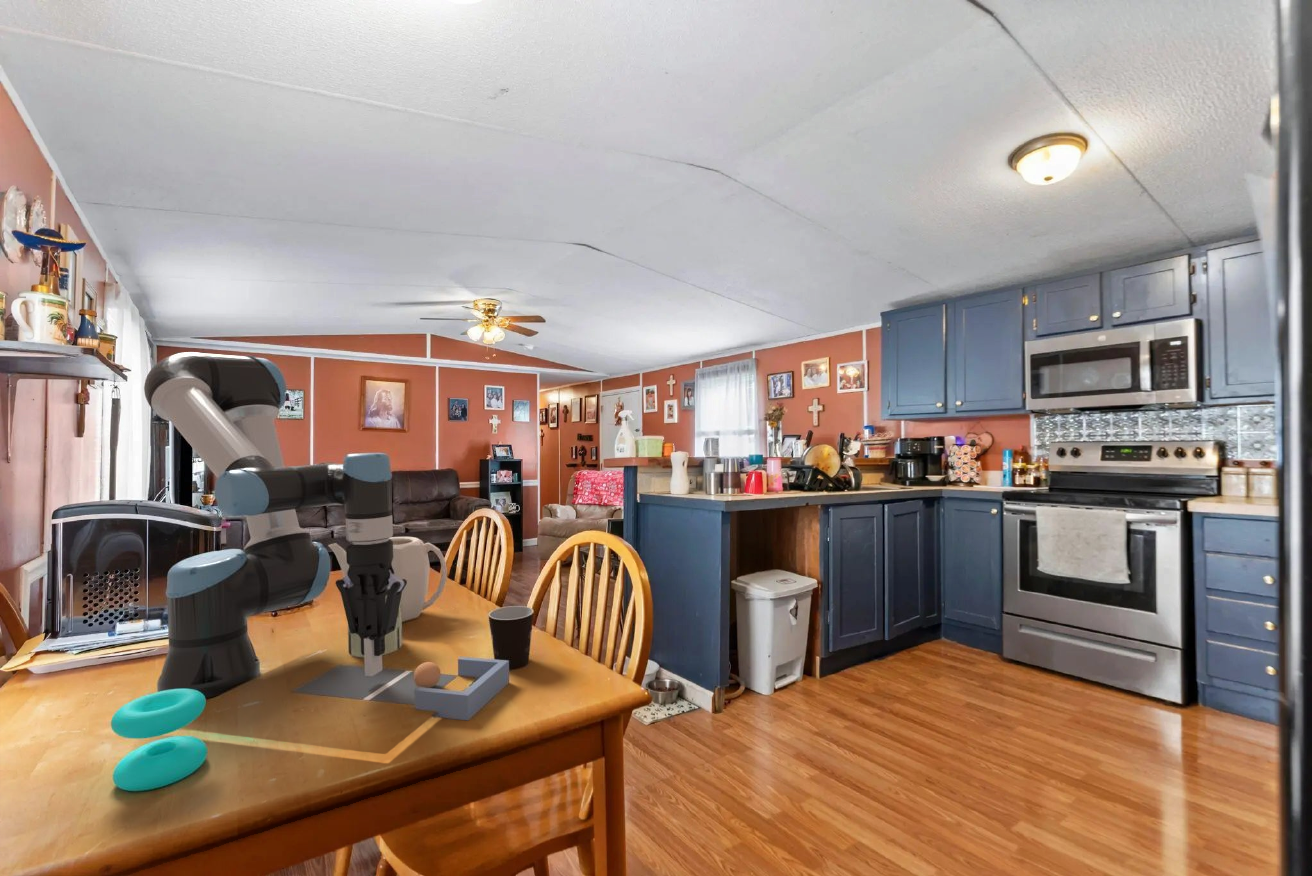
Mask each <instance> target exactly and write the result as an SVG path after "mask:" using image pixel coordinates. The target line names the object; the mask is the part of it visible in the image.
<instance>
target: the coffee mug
mask: <svg viewBox="0 0 1312 876" xmlns="http://www.w3.org/2000/svg"><path fill="white" fill-rule="evenodd" d="M534 612H535V611H534V609H533V608H531V607H530V606H525V605H523V606H522V605H511V606H504V607H503V606H502V607H498V608H496V609H493V610H491V611H489V612H488V614H487V615H488V621H489V630H490V635H491V636H490V637H491V644H492V651H493V653H492V654H493V659H495V660H507V661H509V671H513V670H518V669H522V668H524V667H526V666H527V665H528V664H529V661H530V651H531V641H532V640H531V639H532V631H533V623H534V622H533V619H534Z"/></svg>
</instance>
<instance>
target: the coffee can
mask: <svg viewBox="0 0 1312 876" xmlns="http://www.w3.org/2000/svg"><path fill="white" fill-rule="evenodd" d="M388 586H389V584H388ZM388 586H387V594H388V591H389V589H388ZM386 599H387V595H386V597H385V603H386ZM402 623H403V622H402V619H401V600H400V605H399V611H398V616H397V621H396V627H395V630H394V631H392V632H390V633H389V634H387V635H385V652H384V654H382V656H384V655H388V654H391V653H393V652H396V651H398V650H399V649H400V648H401V647H403V628H402V627H403V624H402ZM356 625H357V624H356ZM347 635H348V636H347V637H348V641H347V642H348V646H347V647H348V654H349V655H350V656H352V657H354V658H364V655H362V653H361V638H360V637H359V635H358V634H356V633H354V634H352V633H351V632H350V630H349V626H348V625H347Z"/></svg>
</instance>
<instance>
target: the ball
mask: <svg viewBox="0 0 1312 876" xmlns="http://www.w3.org/2000/svg"><path fill="white" fill-rule="evenodd" d="M414 671H415V672H414V682H415V684H416V685H417V686H418V687H422V688H432V687H433V686H435V685H436V684H437V683H438V681H439V679H440V675H441V674H442V673H441V669H440V667H439V666H438V665H437V664H436V663H435V662H432V661H426V662H423V663H421V664H419V665H418V666H417V667H416V668H415V670H414Z"/></svg>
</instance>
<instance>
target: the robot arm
mask: <svg viewBox="0 0 1312 876" xmlns="http://www.w3.org/2000/svg"><path fill="white" fill-rule="evenodd" d="M143 391H144V396H145V399H146V401H147V403H148V406H149V407H150V408H151V409H152V411H153V412H154V413H155V414H156V415H157V416H158V417H159V418H160V419H163V420H165V421H168V422H170V423H172V425H173V426H174V427H175V428H176V430H177V431H178V432H179V433H180V435H181V436H182V437H183V438H184V439H185V441H186V442H187V444H189V445H190V446H191V448H192V449H193V450H194V451H195V452H196V454H197V455H198V457H199V458H200V459H201V460H202V461H203V462H204V464H205V465H206V466H207V467H208V469H209V470H210V471H211V473H213V475H215V477H216V481H215V484H214V499H215V501H216V503H217V508H218V509H219V511H220V512H221V513H223V514H224V515H226V516H229V517H240V516H245V519H246V523H247V527H248V531H249V537H250V539H249V540H248V542H247V543H246V545H244V547H243V549H239V548H227V549H221V550H214V551H209V552H205V553H204V552H203V553H200V554H197V555H193V556H190V557H187V558H184V559H182V560H180V561H179V562H177V563H175V564H174V565H172V567H171V568H169V570H168V572H167V575H166V576H167V583H166V586H167V587H166V589H165V595H166V604H167V628H168V629H167V630H168V632H167V633H168V649H167V654H166V657H165V659H164V663H163V666H162V670H161V674H160V676H159V678H158V679H157V684H156V685H157V686H156V687H157V688H156V689H157V690H156V692H160V691H165V690H171V689H194V690H197V691H199V692H201V693H202V694H203V695H204V696H205V699H209V698H213V697H216V696H217V697H218V696H222V694H224V693H227V692H229V691H231V690H233V689H235V688H238V687H240V686H241V685H243V684H246V683H248V682H250V681H252V680H254V679H256V678H258V677H259V676H260V675H261V664H260V663H261V662H260V660H259V659H260V658H259V657H258V656H257V654H256V650H255V648H254V645H253V643H252V641H251V639H250V636H249V632H248V618H249V617H254V616H256V615H261V614H264V613H268V612H272V611H277V610H281V609H284V608H287V607H295V606H299V605H302V604H303V603H306V602H309V601H313V600H315V599H316V598H319V597H320V596H321V595H322V594H323V592H324V591H325V590H326V588H327V586H328V582H329V580H330V576H331V559H330V554H329V552H328V550H327V548H326V547H325V546H324V545H323V544H322V543H321V542H316V541H312V537H311V534H310V533H311V532H310V531H308V530H306V529H304V528H302V527H301V526H300V523H299V520H298V516H297V511H296V510H300V509H308V508H309V509H310V508H317V507H323V506H332V505H333V506H334V505H335V506H344V514H345V515H344V517H345V539H346V541H348V543H347V544H346V545H345V551H346V558H347V564H348V565H349V569H348V571H347V575H346V576H345V577H344V576H343V577H342V578H339V579H337V580H335V586H336V587H337V589H338V591H339V593H340V595H341V599H342V604H343V608H344V612H345V613H344V614H345V617H346V621H347V627H348V626H349V630H350V632H351V633H352V634H354V633H356V634H358V635H359V637H360V638H361V653H362V655H364V657H363V658H364V667H365V676H374V675H375V674H377V673H379V672H380V671H382V668H383V655H382V654H384V652H385V635H387V634H389V633H390V632H392V631H394V630H395V627H396V621H397V616H398V611H399V605H400V600H401V595H402V591H403V589H404V588H405V586H406V584H407V581H406V580H405V579H402V580H400V579H399V578H397V577H396V576H395V575H394V570H393V568H392V560H393V541H392V540H391V539H389V538H390V537H394V529H393V528H394V527H393V513H392V511H393V507H392V505H393V501H392V499H393V496H392V495H393V493H392V491H393V490H392V477H393V474H392V471H391V459H390V456H389V455H388V454H387V453H384V452H358V453H348V454H346V455H345V456H344V457H343V463H334V462H320V463H314V464H310V465H309V464H307V465H296V466H292V465H291V466H285V463H284V459H283V455H282V450H281V447H280V442H279V438H278V433H277V430H276V426H275V422H274V421H275V420H276V419H277V417H279V415H280V409H281V408H283V407H284V406H285V402H286V399H287V395H286V392H287V391H288V390H287V383H286V379H285V377H284V374H283V373H282V371H281V370H280V368H279V367H278V366H277V365H276V364H275V362H273V361H270V360H269V359H267V358H263V357H255V356H253V355H230V354H217V353H206V352H205V353H203V352H196V351H195V352H194V351H188V352H187V351H186V352H178V353H174V354H171V355H169V356H167V357H165V358H163V359H162V360H160V361H158V362H157V363H155V364H154V366H153V367H152V368H151V369H150V370H149V372H148V374H147V376H146V378H145V382H144V386H143ZM388 584H389V586H388ZM387 586H388V589H389V591H388V594H387ZM386 595H387V599H386V603H385V597H386ZM356 624H357V625H356Z"/></svg>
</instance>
